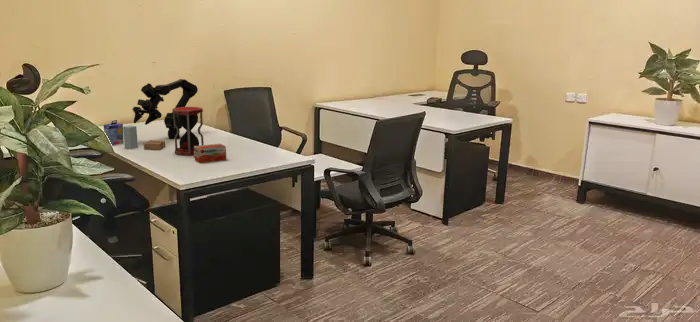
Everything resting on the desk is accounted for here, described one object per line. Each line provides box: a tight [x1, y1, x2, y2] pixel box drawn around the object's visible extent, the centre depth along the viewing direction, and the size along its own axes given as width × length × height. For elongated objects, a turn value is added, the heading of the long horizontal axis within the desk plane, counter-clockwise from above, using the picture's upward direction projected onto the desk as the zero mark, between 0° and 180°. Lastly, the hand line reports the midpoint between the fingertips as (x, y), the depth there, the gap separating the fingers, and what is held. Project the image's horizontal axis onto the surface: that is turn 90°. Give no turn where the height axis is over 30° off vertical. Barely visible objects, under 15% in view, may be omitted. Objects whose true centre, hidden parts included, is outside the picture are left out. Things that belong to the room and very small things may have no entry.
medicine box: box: [193, 143, 227, 164], centre depth 293 cm, size 15×8×8 cm, turn 124°
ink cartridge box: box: [103, 119, 124, 146], centre depth 324 cm, size 10×6×14 cm, turn 152°
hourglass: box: [171, 106, 205, 157], centre depth 307 cm, size 16×16×25 cm
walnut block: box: [143, 139, 166, 151], centre depth 318 cm, size 9×9×4 cm
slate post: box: [123, 125, 139, 150], centre depth 316 cm, size 5×5×12 cm
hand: (139, 123), depth 321 cm, fingers open, 9 cm apart
